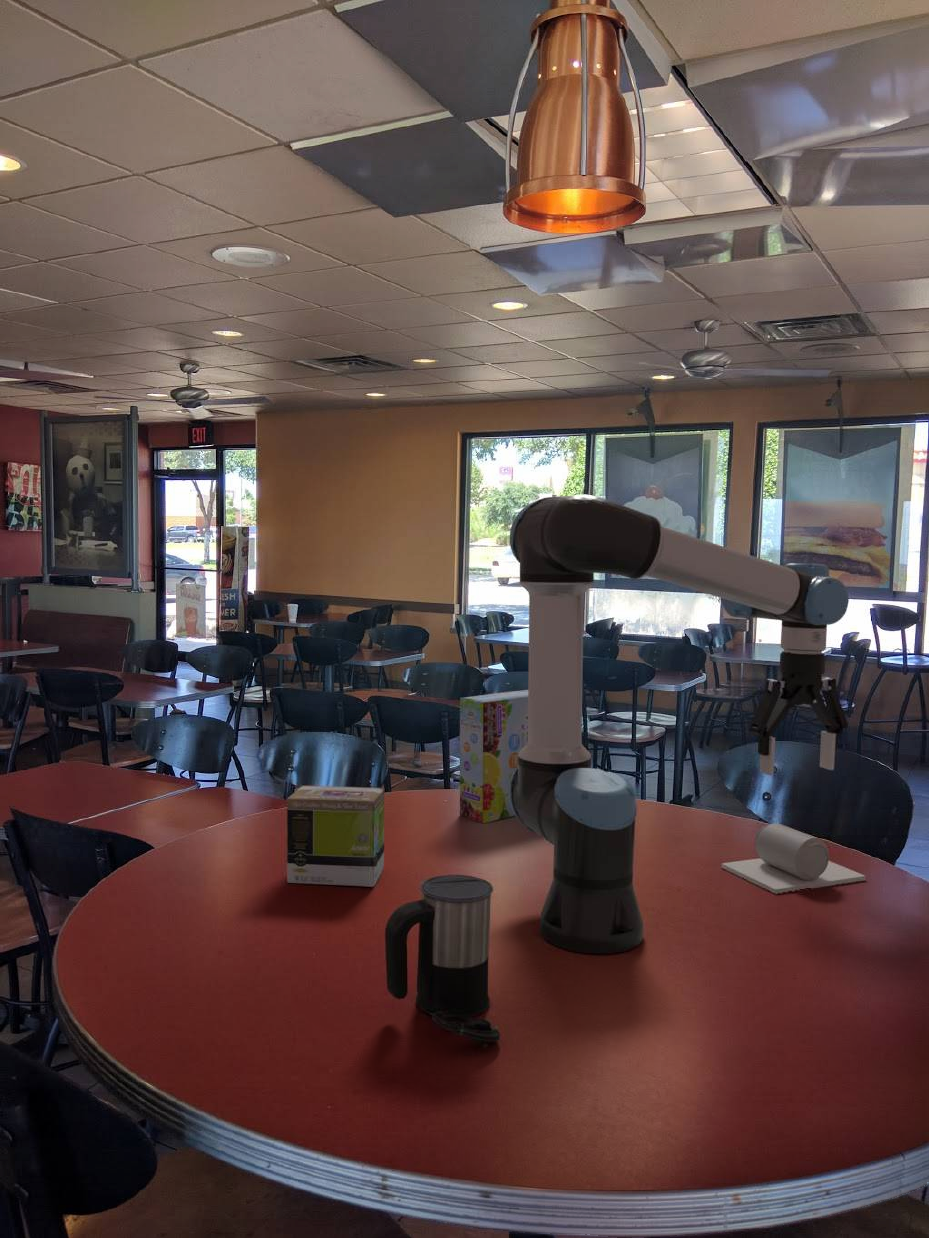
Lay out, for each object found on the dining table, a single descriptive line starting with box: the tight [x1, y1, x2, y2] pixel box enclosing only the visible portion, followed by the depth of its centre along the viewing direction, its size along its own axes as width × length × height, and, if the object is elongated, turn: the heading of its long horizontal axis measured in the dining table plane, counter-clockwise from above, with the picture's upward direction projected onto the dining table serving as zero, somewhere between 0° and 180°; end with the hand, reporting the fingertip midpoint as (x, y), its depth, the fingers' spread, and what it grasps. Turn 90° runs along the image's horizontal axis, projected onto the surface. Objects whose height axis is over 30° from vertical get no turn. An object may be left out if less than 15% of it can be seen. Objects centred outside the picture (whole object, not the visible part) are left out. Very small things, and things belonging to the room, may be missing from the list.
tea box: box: [286, 785, 385, 888], centre depth 161 cm, size 15×10×15 cm
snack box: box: [459, 689, 528, 824], centre depth 204 cm, size 22×9×26 cm, turn 130°
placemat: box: [721, 857, 866, 895], centre depth 169 cm, size 20×14×1 cm
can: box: [754, 822, 830, 881], centre depth 167 cm, size 8×8×12 cm
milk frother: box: [384, 874, 501, 1046], centre depth 113 cm, size 14×16×15 cm
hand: (797, 771), depth 167 cm, fingers open, 13 cm apart
